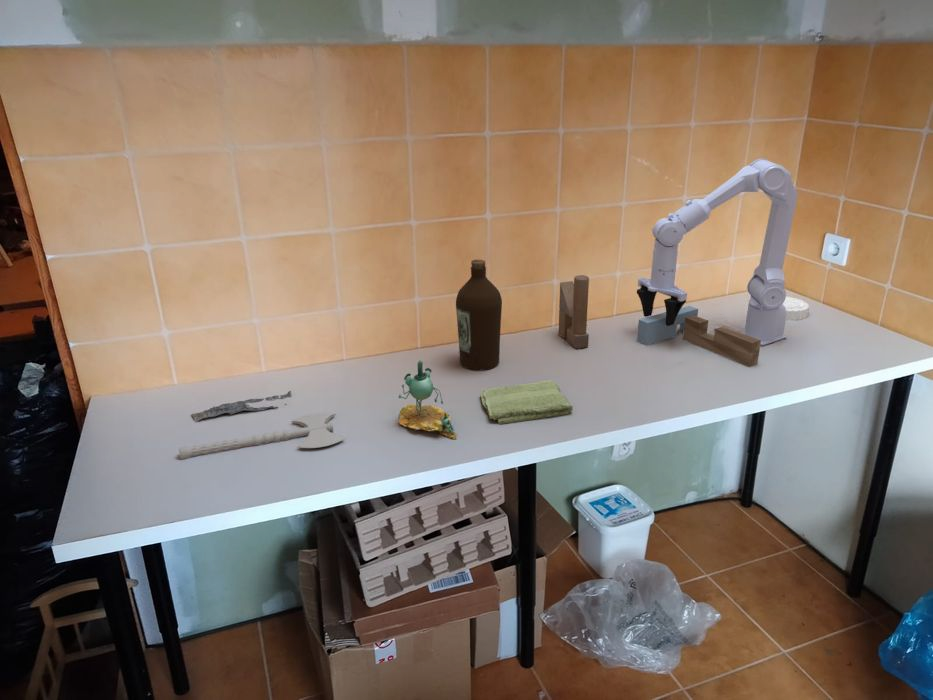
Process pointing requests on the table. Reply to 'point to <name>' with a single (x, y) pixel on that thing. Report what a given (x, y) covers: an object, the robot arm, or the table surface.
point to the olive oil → (479, 320)
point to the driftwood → (235, 407)
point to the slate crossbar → (662, 326)
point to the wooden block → (574, 311)
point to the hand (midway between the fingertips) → (658, 320)
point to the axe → (277, 437)
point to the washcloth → (525, 402)
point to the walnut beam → (722, 341)
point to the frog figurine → (424, 406)
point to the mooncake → (795, 308)
